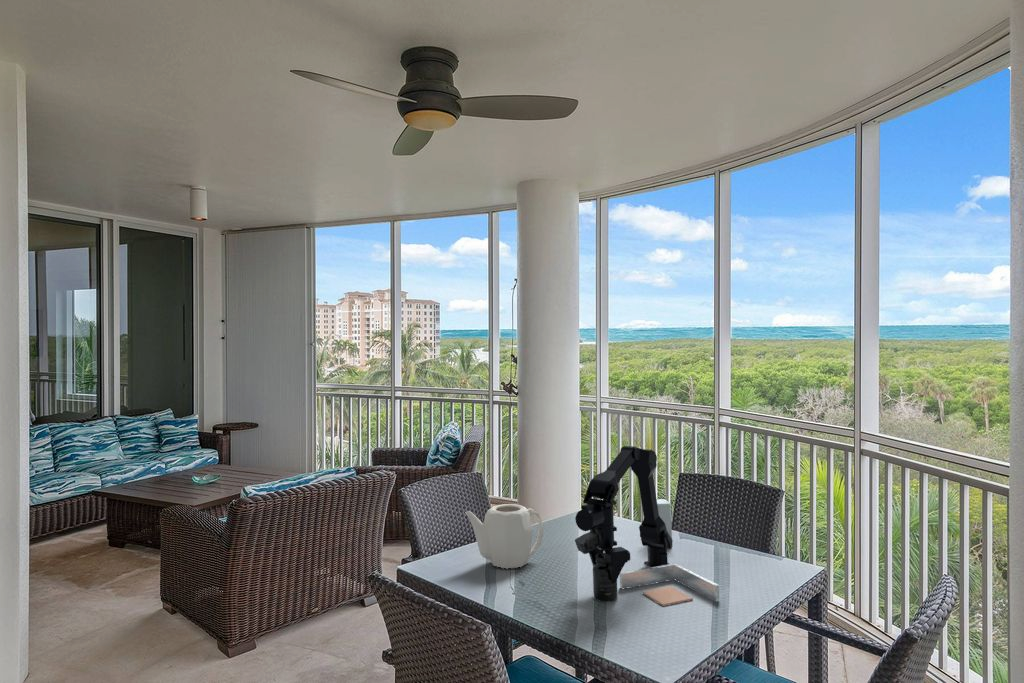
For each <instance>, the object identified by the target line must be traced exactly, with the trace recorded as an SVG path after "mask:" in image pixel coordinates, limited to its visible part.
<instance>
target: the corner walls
mask: <svg viewBox="0 0 1024 683" xmlns="http://www.w3.org/2000/svg"><path fill="white" fill-rule="evenodd" d="M672 579H676V580H677V581H676V580H675V581H676V582H678V581H679V582H678V583H680V582H681V583H683V584H685V585H687V586H689V587H690V588H689V587H688V588H689V589H691V588H692V589H691V590H693V589H694V590H695V591H694V590H693V591H694V592H696V591H697V592H696V593H698V594H700V595H702V596H704V597H706V598H707V599H710V600H711V601H714V603H719V602H720V584H718V583H715V582H714V581H712V580H710V579H708V578H705V576H701V575H700V574H698V573H695V572H694V571H691V570H690V569H688V568H687V567H686V568H685V567H684V566H681V565H679V564H677V563H669V564H667V565H662V566H656V567H650V566H649V567H646V568H641V569H640V568H639V569H634V570H628V571H621V572H620V574H619V589H620V588H627V587H633V586H639V585H644V586H647V585H646V584H649V585H653V584H652V583H655V584H657V583H656V582H660V583H663V582H662V581H665V582H667V581H666V580H671V581H673V580H672ZM681 583H680V584H681ZM683 584H682V585H683ZM685 585H684V586H685ZM687 586H686V587H687ZM639 587H640V586H639ZM633 588H634V587H633Z"/></svg>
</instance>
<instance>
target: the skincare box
mask: <svg viewBox="0 0 1024 683" xmlns="http://www.w3.org/2000/svg"><path fill="white" fill-rule="evenodd" d="M656 499H657V498H656ZM657 506H658V513H659V516H660V518H661V519H662V520H663V521H664V523H665V525H666V529H667V532H668V533H669V535H670V537H671V538H672V539H673V533H672V532H673V531H672V512H671V503H670V502H669V501H668V500H666V499H665V498H658V499H657Z"/></svg>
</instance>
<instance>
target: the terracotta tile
mask: <svg viewBox="0 0 1024 683" xmlns="http://www.w3.org/2000/svg"><path fill="white" fill-rule="evenodd" d="M641 593H643V594H642V595H644V594H645V595H646V596H645V595H644V596H645V597H647V596H648V597H650V598H651V599H650V598H649V599H650V600H652V599H653V600H654V601H653V600H652V601H653V602H655V601H656V602H655V603H657V602H658V603H659V604H658V603H657V604H658V605H660V604H661V605H662V606H661V605H660V606H661V607H667V606H666V605H668V606H670V605H669V604H673V605H676V604H675V603H678V604H681V603H680V602H682V603H685V602H684V601H687V602H691V601H690V600H692V601H693V597H691V596H690V595H687V594H686V593H684V592H682V591H681V590H679V589H678V588H675V587H674V586H672V585H669V586H663V587H659V588H654V589H649V590H643V591H641ZM648 597H647V598H648Z"/></svg>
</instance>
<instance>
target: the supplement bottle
mask: <svg viewBox="0 0 1024 683" xmlns="http://www.w3.org/2000/svg"><path fill="white" fill-rule="evenodd" d="M605 560H606V559H605V552H603V553H599V554H596V564H595V565H594V566H593V565H592V585H593V586H592V587H593V588H592V589H593V594H592V595H593V597H594V599H595V600H597V601H599V600H600V601H599V602H603V601H610V602H613V601H612V600H614V601H616V600H617V599H618V580H617V581H616V583H614V584H612V583H611V578H610V570H609V565H608V564H607V563H606V562H605Z"/></svg>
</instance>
